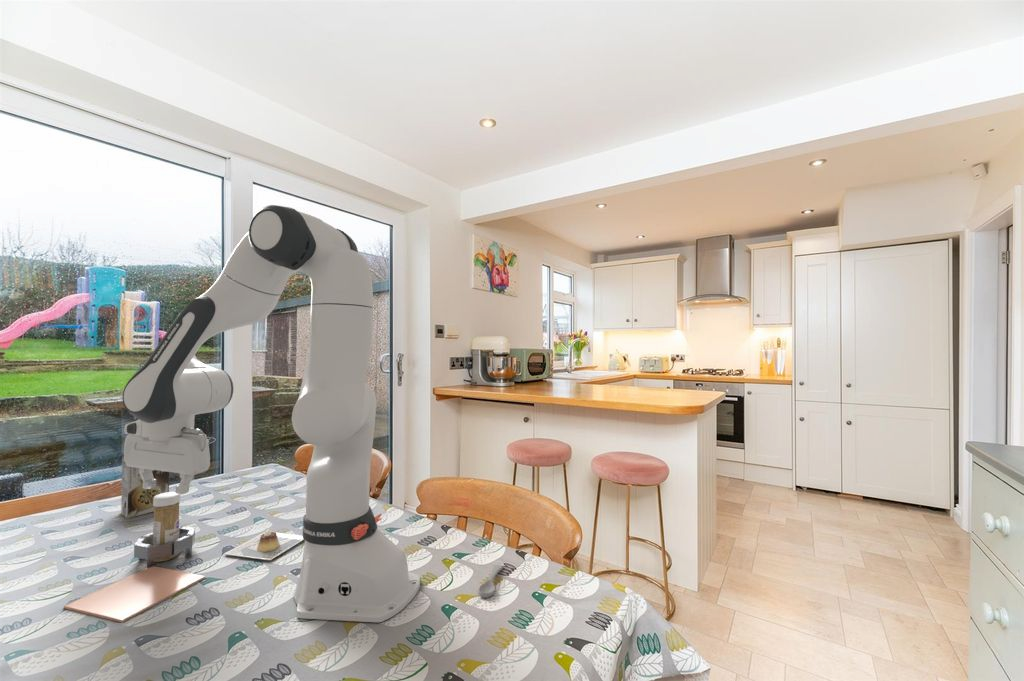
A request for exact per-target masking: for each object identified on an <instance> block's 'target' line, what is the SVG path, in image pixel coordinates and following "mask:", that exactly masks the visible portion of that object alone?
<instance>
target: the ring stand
mask: <svg viewBox="0 0 1024 681" xmlns="http://www.w3.org/2000/svg"><path fill="white" fill-rule="evenodd" d="M195 540H196V528H195V527H190V526H182V525H181V526H180V525H179V539H177V540H174V541H172V542H167V543H161V544H155V545H154V544H153V531H152V532H150V533H148V534H145V535H141V536H139V538H138V539H137V540H136V541H135V543H134V545H133V546H134V547H133V550H134V552H133V557H134V558H135V559H138V560H139V561H143V560H146V567H145V569H147V568H150V567H153V566H155V561H154V559H156V558H161V557H167V556H172V555H175V554H177V553H179V554H180V553H182V552H183V551H184V559H187V558H191V557H192V556H193V545H194V544H195Z"/></svg>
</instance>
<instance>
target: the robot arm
mask: <svg viewBox="0 0 1024 681" xmlns="http://www.w3.org/2000/svg"><path fill="white" fill-rule="evenodd" d="M248 227H249V228H248V232H246V234H244V236H242V238H241V240H240V241H239V242H238V244H237V245H236V246H235V248H234V249H233V251H232V253H230V256H229V257H228V259H227V261H226V263H225V265H224V267H223V269H222V271H221V273H220V275H219V276H218V278H217V279H216V281H214V283H213V284H212V285H211V286H210V287H209V289H207V290H206V291H205V292H204V293H203V294H201V295H200V296H198V297H195V298H194V299H192V300H191V301H189V302H188V303H187V304H186V305H185V306H184V307H183V309H182V310H181V311H180V312H179V314H178V315H177V317H176V318H175V319H174V321H173V322H172V324H171V325H170V327H169V328H168V330H167V331H166V333H165V334H164V335H163V337H162V338H161V340H160V341H159V343H158V344H157V345H156V348H155V349H154V350H153V352H152V353H151V355H150V356H149V358H148V359H147V360H146V362H145V363H144V364H143V365H142V366H141V367H140V368H139V369H138V370H137V371H136V372H135V373H134V374H133V375H131V378H130V379H129V380H128V381H127V382H126V384H125V385H124V389H123V391H122V403H123V406H124V408H125V410H126V411H128V413H129V414H130V415H131V416H133V417H135V418H137V420H134V421H132V422H128V423H126V424H125V425H124V427H123V428H124V429H123V430H124V434H125V435H126V436H125V439H124V445H123V446H124V448H123V454H124V461H125V463H126V465H127V466H129V467H136V468H139V474H140V476H141V478H142V481H143V488H144V489H151V488H155V487H156V481H157V479H154V477H153V473H152V471H153V470H159V471H166V472H169V473H175V474H179V478H180V482H179V483H178V484H177V485H175V492H176V493H177V494H181V495H184V494H187V493H189V492H190V484H191V483H192V481H193V479H194V477H195V475H198V474H202V473H205V472H207V471H208V470H209V469H210V467H211V455H210V445H209V440H208V438H207V437H208V436H207V434H205V432H203V430H202V429H201V428H200V429H199V428H195V417H196V416H197V415H201V414H208V413H213V412H217V411H220V410H223V409H225V408H226V407H227V406H228V405H229V403H230V402H231V400H232V399H233V394H234V382H233V380H232V378H231V376H230V375H229V374H228V372H226V371H225V370H224V369H220V368H217V367H213V366H210V365H208V364H206V363H204V362H202V361H200V360H199V359H198V358H197V356H196V354H197V353H198V351H199V349H200V348H201V347H202V345H204V343H205V342H207V341H208V340H209V339H211V338H213V337H214V336H217V335H218V334H221V333H224V332H227V331H230V330H233V329H237V328H241V327H247V326H250V325H251V326H252V325H254V324H256V323H259V322H262V321H263V320H265V319H267V317H268V316H269V315H270V314H271V313H273V311H274V309H275V308H276V306H277V304H278V303H279V300H280V298H281V296H282V294H283V291H284V290H285V287H286V285H287V283H288V281H289V279H290V277H291V276H293V274H295V273H298V272H299V273H301V274H306V275H307V276H308V279H310V282H311V283H310V284H311V294H310V295H311V300H310V317H309V318H310V319H309V320H310V321H309V322H310V324H309V343H308V344H309V346H308V352H307V353H308V354H307V357H306V363H305V367H304V370H303V376H302V380H301V386H300V390H299V393H298V394H299V395H298V399H297V400H296V402H295V403H294V404H295V405H294V407H293V409H292V412H291V424H292V428H293V430H294V432H295V434H296V435H297V437H299V438H300V439H301V441H303V442H305V443H307V444H309V445H312V446H313V451H312V455H311V459H310V463H309V465H308V468H307V470H306V471H307V472H306V486H305V487H306V490H305V492H306V494H305V514H304V515H303V520H302V535H303V538H304V540H303V541H304V544H303V545H304V547H303V554H302V556H303V557H302V562H301V567H300V573H299V577H298V582H297V585H296V589H295V592H294V594H293V597H294V598H293V599H294V602H295V604H296V606H297V607H296V613H295V617H296V618H298V619H306V620H307V619H308V620H309V619H310V620H326V621H345V622H364V623H382V622H384V621H387V620H388V619H391V618H392V617H394V616H395V615H397V614H398V613H400V612H401V611H402V610H403V609H404V608H406V607H407V605H409V604H410V602H412V601H413V599H414V598H415V597H416V595H417V594H418V592H419V589H420V587H421V578H420V575H419V574H417V573H415V572H414V573H413V572H410V571H409V566H408V561H407V557H406V554H405V552H404V551H403V549H402V548H400V547H399V546H398V545H396V544H395V543H394V542H393V541H392V540H390V539H389V538H388V537H387V536H386V535H385V534H384V533H383V532H382V531H380V530H379V529H378V522H380V521H381V520H382V518H381V516H382V513H379V514H377V515H376V516H375V515H374V513H373V510H372V507H371V506H370V480H371V479H370V477H371V475H370V474H371V461H372V452H373V445H374V437H375V436H374V435H375V427H376V426H375V425H376V415H377V404H378V402H377V401H378V400H377V395H376V393H375V391H374V389H373V388H372V387H371V386H370V385H369V384H367V383H366V382H367V375H368V369H369V363H370V359H371V354H372V351H373V332H374V331H373V328H374V327H373V326H374V291H373V290H374V289H373V281H372V279H373V278H372V273H371V268H370V263H369V262H368V260H367V258H366V257H365V256H364V255H363V254H361V253H360V252H359V251H358V246H357V244H356V243H355V241H354V240H353V238H352V237H351V236H349V235H348V234H347V233H346V232H345V231H343V230H341V229H339V228H335V227H334V226H332V225H330V224H329V223H327V222H325V221H324V220H322V219H321V218H318V217H316V216H313V215H311V214H308V213H305V212H301V211H298V210H297V209H295V208H293V207H289V206H285V205H278V204H277V205H276V204H269V205H266V206H264V207H262V208H260V209H259V210H258V211H256V213H255V214H254V216H253V217H252V218H251V221H250V223H249V226H248Z"/></svg>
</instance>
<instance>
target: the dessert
mask: <svg viewBox="0 0 1024 681" xmlns="http://www.w3.org/2000/svg"><path fill="white" fill-rule="evenodd" d="M265 529H266V530H265V531H264V532H262V533H260V534H258V535H256V536H254V537H252V538H251V539H249V540H248V541H246V542H243V543H241V544H240V545H237V546H236V547H234V548H232V549H230V550H227V551H226V552H224V553H223V555H226V556H232V557H238V558H239V557H240V558H245V559H252V560H253V559H254V560H260V561H261V560H262V561H272V560H274V559H275V558H277V557H278V556H280V555H282V554H283V553H285V552H287V551H288V550H290V549H291V548H293V547H295V546H297V545H298V544H300V543H301V542H303V541H305V540H304V538H303V534H297V533H296V534H295V533H289V532H278V531H271V530H270V528H265ZM278 538H282V539H290V540H298V541H297V542H295V543H294V544H292V545H291V546H289V547H287V548H286V549H284V550H282V551H280V552H279V553H277V554H276V555H274V556H272V557H271V558H266V557H257V556H249V555H243V554H237V553H238V552H240V551H242V550H243V549H246V548H247V547H249V546H251V545H253V544H255V543H256V542H258V544H257V547H256V550H257V552H260V553H262V552H263V553H264V552H270V551H274V550H276V549H278V548H279V547H280V545H281V544H280V541H279V539H278Z"/></svg>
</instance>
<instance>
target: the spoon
mask: <svg viewBox="0 0 1024 681" xmlns="http://www.w3.org/2000/svg"><path fill="white" fill-rule="evenodd" d="M503 570H504V566H503V565H500V564H494V565H493V566H492V570H491V572H490V574H489V576H488V578H487V581H486V582H485V583H483V584H481V585H480V586H479V587H478V595H479V596H480V597H481V598H483V599H488V598H490V597H493V595H494V594H495V593H496V587H495V584H494V581H495V579H496V577H497V575H498V574H499V573H500V572H501V571H503Z"/></svg>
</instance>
